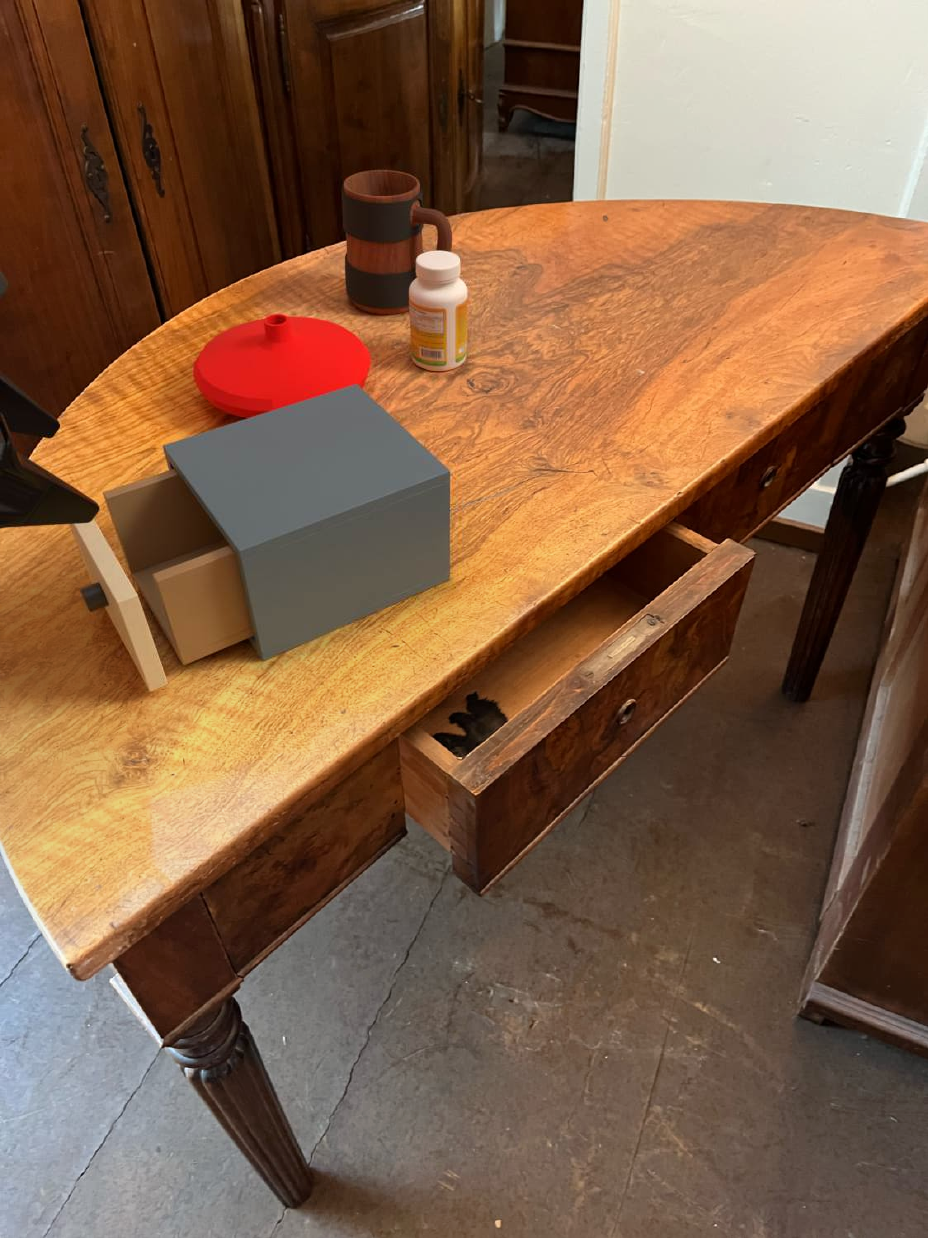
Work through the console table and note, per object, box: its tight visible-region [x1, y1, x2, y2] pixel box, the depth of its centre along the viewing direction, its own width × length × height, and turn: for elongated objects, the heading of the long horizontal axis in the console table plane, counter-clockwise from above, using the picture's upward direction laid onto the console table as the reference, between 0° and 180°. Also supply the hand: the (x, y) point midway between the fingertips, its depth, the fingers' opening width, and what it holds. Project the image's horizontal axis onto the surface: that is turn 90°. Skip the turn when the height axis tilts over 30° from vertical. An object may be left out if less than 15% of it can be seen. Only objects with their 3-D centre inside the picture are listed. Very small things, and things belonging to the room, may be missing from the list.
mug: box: [341, 169, 453, 315], centre depth 90 cm, size 9×12×12 cm
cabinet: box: [162, 384, 451, 662], centre depth 61 cm, size 15×13×10 cm
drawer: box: [68, 469, 254, 693], centre depth 58 cm, size 15×11×8 cm
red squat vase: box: [192, 313, 372, 419], centre depth 79 cm, size 16×16×7 cm
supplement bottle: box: [409, 250, 469, 372], centre depth 83 cm, size 5×5×10 cm
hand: (74, 469), depth 49 cm, fingers open, 9 cm apart
